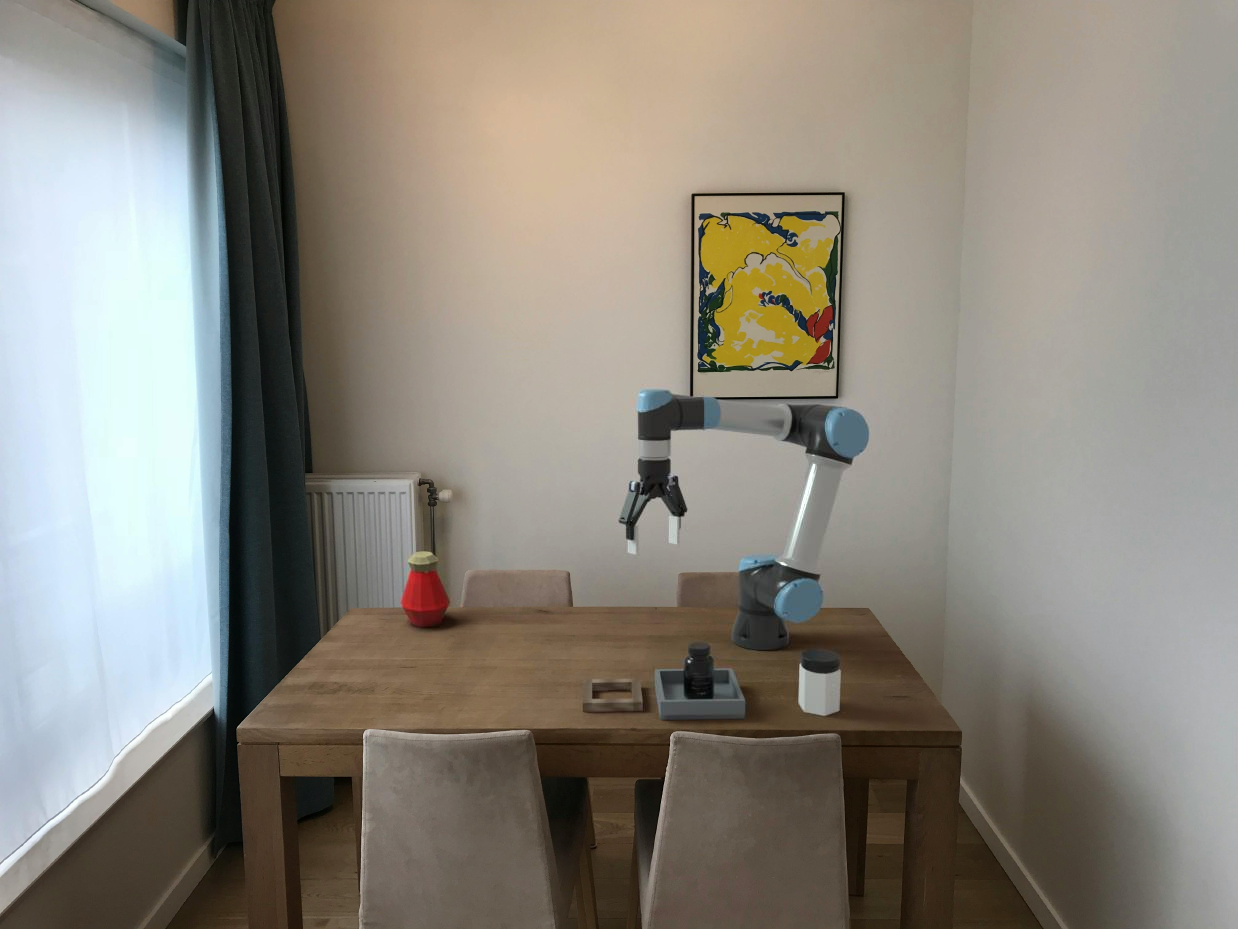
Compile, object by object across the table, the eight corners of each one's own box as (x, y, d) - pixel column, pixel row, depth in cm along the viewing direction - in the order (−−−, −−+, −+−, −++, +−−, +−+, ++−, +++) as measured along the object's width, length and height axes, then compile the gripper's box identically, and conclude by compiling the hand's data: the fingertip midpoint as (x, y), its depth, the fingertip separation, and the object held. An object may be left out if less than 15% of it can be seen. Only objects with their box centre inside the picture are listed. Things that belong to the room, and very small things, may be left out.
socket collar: (639, 686, 200) (639, 678, 200) (642, 711, 187) (642, 702, 187) (583, 687, 200) (583, 679, 199) (582, 711, 187) (582, 703, 187)
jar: (818, 719, 183) (819, 665, 181) (790, 706, 189) (792, 653, 188) (847, 709, 188) (849, 656, 186) (819, 696, 194) (821, 645, 193)
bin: (731, 684, 201) (732, 668, 200) (745, 718, 183) (745, 700, 183) (654, 685, 201) (654, 669, 200) (660, 719, 183) (660, 702, 182)
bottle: (459, 625, 243) (457, 556, 240) (413, 634, 235) (410, 563, 232) (437, 611, 256) (435, 545, 253) (393, 619, 248) (390, 551, 245)
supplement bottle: (680, 691, 195) (681, 640, 193) (710, 690, 196) (711, 639, 194) (686, 704, 188) (686, 651, 186) (716, 702, 189) (717, 650, 187)
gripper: (679, 450, 208) (678, 537, 211) (602, 461, 191) (603, 554, 194) (702, 453, 202) (701, 542, 206) (626, 465, 186) (626, 561, 189)
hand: (653, 548), depth 200 cm, fingers open, 13 cm apart
